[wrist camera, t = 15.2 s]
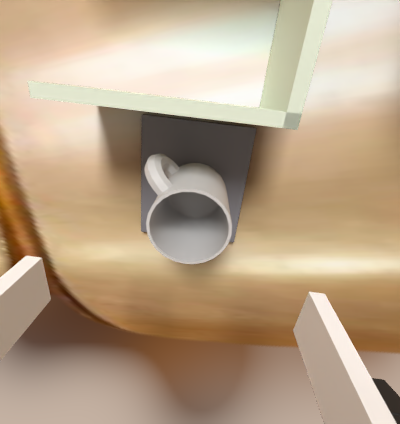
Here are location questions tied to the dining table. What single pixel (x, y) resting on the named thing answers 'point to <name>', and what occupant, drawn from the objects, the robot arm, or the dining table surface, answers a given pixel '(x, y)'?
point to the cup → (187, 210)
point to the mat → (198, 155)
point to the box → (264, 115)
